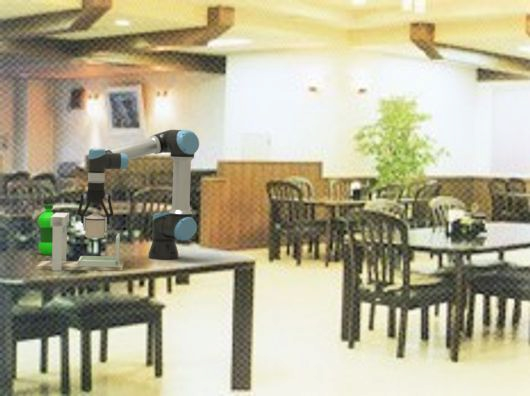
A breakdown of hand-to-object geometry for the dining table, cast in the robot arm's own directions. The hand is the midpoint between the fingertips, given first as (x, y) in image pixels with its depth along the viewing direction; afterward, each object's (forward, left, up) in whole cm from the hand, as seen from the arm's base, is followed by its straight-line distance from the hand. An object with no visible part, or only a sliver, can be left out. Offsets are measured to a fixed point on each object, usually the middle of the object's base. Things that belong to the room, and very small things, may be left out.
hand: (95, 230), depth 434 cm
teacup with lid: (+1, 0, -3) cm, 3 cm away
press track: (+6, 0, -17) cm, 18 cm away
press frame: (+16, 0, -17) cm, 23 cm away
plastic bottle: (+26, -44, -17) cm, 54 cm away
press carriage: (-2, 0, -15) cm, 16 cm away
